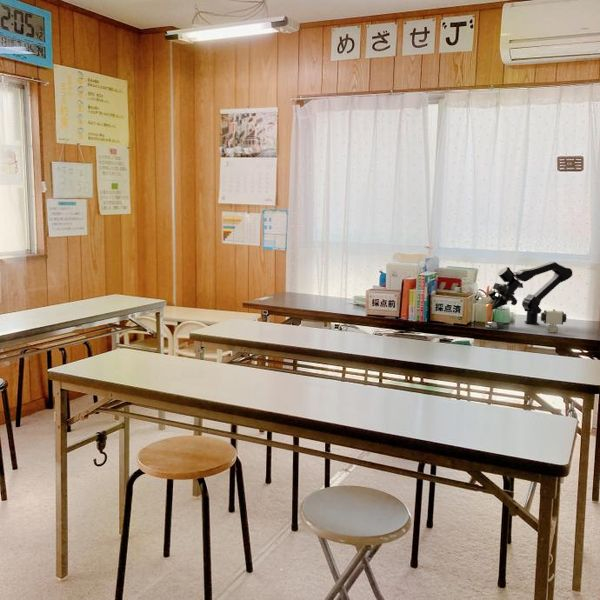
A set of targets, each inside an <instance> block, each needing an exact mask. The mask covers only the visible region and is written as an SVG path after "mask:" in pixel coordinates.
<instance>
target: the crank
mask: <svg viewBox="0 0 600 600" xmlns="http://www.w3.org/2000/svg"><path fill="white" fill-rule="evenodd" d="M485 310H486V312H485V313H486V314H485V325H489V326H491V327H496V326H497V325H498V322H496V321H493V311H494V310H493V303H486V309H485Z"/></svg>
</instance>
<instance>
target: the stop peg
mask: <svg viewBox="0 0 600 600" xmlns="http://www.w3.org/2000/svg"><path fill="white" fill-rule="evenodd" d="M497 326H499V329H504V322H497Z"/></svg>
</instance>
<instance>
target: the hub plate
mask: <svg viewBox="0 0 600 600" xmlns="http://www.w3.org/2000/svg"><path fill="white" fill-rule="evenodd" d="M485 327H486V328H485ZM484 328H485V329H488V328H490V329H489V330H499V329H500V328H499V326H496V327H491V326H489V325H486V324H485V325H484ZM498 328H499V329H498Z"/></svg>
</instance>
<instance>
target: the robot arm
mask: <svg viewBox="0 0 600 600" xmlns="http://www.w3.org/2000/svg"><path fill="white" fill-rule="evenodd" d="M550 271H552V272H553V277H552V278H551V279H550V280H548V281H547V282H546V283H545V284H544V285H543V286H542V287H541V288H540V289H538V290H537V291H536V292H535V293H533V294H529V293H528V294H527V295H526V296H525V297H524V298H523V300H522V302H521V303H522V304H521V305H522V308H523V309H524V312H526V320H524V323H525V322H526V324H528V325H539V324H540V323H539V322H538V316H539V315H538V314H541V313H542V309H541V307H540V304H541V302H542V300H543V299H544V298H545V297H546V296H547V295H549V293H550V292H552V291H553V290H554V289H555V288H556V287H557V286H558V285H559V284H561V283H562V282H565V281H568V280H569V279H571V278H572V277H573V270H572V269H571V268H570V267H565V266H563V265H560V264H559V263H557V262H556V261H549V262H547V263H543V264H541V265H538V266H535V267H532V268H526V269H518V270H517V271H516V272H513V271H512V270H511V268H510V267H509V266H506V267H504V268H502V269H500V270H499V271H498V273H497V276H498V277H499V278H500V279H501V280H502V281H503V282H504V283H502V284H501V283H496V282H494V284H493V287H492V289H493V290H488V292H487V293H486V294H487V295H488V297H489V298H490V299H491V300H492V301H493V303H492V304H493V311H494V310H495V309H498V308H501V307H503V306H505V305H506V306H507V305H508V303H509V302H511V303H510V305H511V306H516V305H517V304H518V299H517V298H516V297H515V296H514V295H515V292H516V290H518V289H523V288H524V284H523V282H524V283H525V282H528V281H529V280H531V279H533V278H534V277H536V276H538V275H540V274H541V275H542V274H545V273H547V272H550ZM494 290H495V291H494ZM496 291H497V292H496Z"/></svg>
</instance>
